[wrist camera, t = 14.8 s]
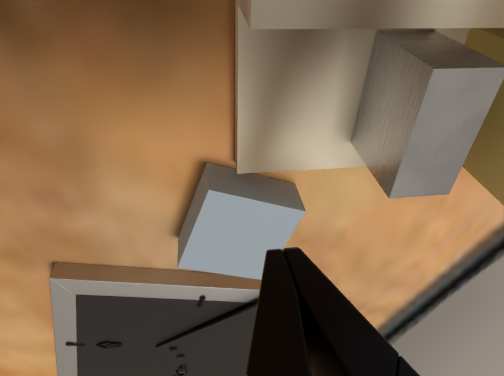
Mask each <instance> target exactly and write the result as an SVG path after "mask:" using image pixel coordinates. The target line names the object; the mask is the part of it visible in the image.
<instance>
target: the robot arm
mask: <svg viewBox="0 0 504 376" xmlns="http://www.w3.org/2000/svg"><path fill="white" fill-rule="evenodd" d="M398 356H399V354H398V352H397V351H396V350H395V349H394V348H393V347H392V346H391V345H390V344H389V343H388V342H387V341H386V339H385V338H384V337H383V336H382V335H381V334H380V333H379V332H378V331H377V330H376V329H375V328H374V327H373V326H372V325H371V324H370V322H369V321H368V320H367V319H366V318H365V317H364V316H363V315H362V314H361V313H360V312H359V311H358V310H357V309H356V308H355V307H354V305H353V304H352V303H351V302H350V301H349V300H348V299H347V298H346V297H345V296H344V295H343V294H342V293H341V292H340V291H339V290H338V288H337V287H336V286H335V285H334V284H333V283H332V282H331V281H330V280H329V279H328V278H327V277H326V276H325V275H324V274H323V273H322V271H321V270H320V269H319V268H318V267H317V266H316V265H315V264H314V263H313V262H312V261H311V260H310V259H309V258H308V257H307V255H306V254H305V253H304V252H303V251H302V250H301V249H300V248H298V247H292V248H284V249H283V250H282V249H269V250H267V251H266V255H265V261H264V267H263V273H262V279H261V285H260V291H259V297H258V303H257V309H256V315H255V321H254V327H253V333H252V339H251V345H250V351H249V357H248V363H247V369H246V376H420V375H419V374H418V373H417V372H416V371H415V370H414V369H413V368H412V367H411V366H410V365H409V364H408V363H407V362H406V361H405V360H404V358H403V357H401V356H399V357H398Z"/></svg>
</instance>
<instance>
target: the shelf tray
mask: <svg viewBox="0 0 504 376" xmlns="http://www.w3.org/2000/svg"><path fill="white" fill-rule="evenodd" d="M471 28H504V0H235V164H236V170H237V174H244V173H261V172H279V171H296V170H314V169H332V168H349V167H367V166H366V164H365V163H364V161H363V160H362V159H361V157H360V156H359V154H358V153H357V151H356V150H355V148H354V147H353V145H352V144H351V138H352V134H353V130H354V125H355V121H356V117H357V112H358V108H359V104H360V99H361V95H362V91H363V86H364V82H365V78H366V74H367V69H368V65H369V61H370V56H371V52H372V48H373V43H374V39H375V35H376V31H437V32H439V33H441V34H443V35H445V36H447V37H449V38H451V39H453V40H455V41H457V42H459V43H461V44H463V45H464V44H465V42H466V39H467V37H468V34H469V31H470V29H471Z"/></svg>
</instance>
